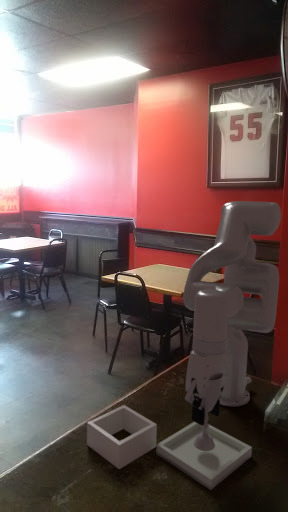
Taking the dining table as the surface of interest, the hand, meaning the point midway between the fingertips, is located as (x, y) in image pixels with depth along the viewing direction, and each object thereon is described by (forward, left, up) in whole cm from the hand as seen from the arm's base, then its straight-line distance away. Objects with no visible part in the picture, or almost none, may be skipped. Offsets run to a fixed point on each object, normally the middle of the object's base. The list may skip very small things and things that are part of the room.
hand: (205, 417), depth 96 cm
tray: (0, 0, -10) cm, 10 cm away
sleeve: (+12, -16, -10) cm, 22 cm away
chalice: (0, 0, -7) cm, 7 cm away
